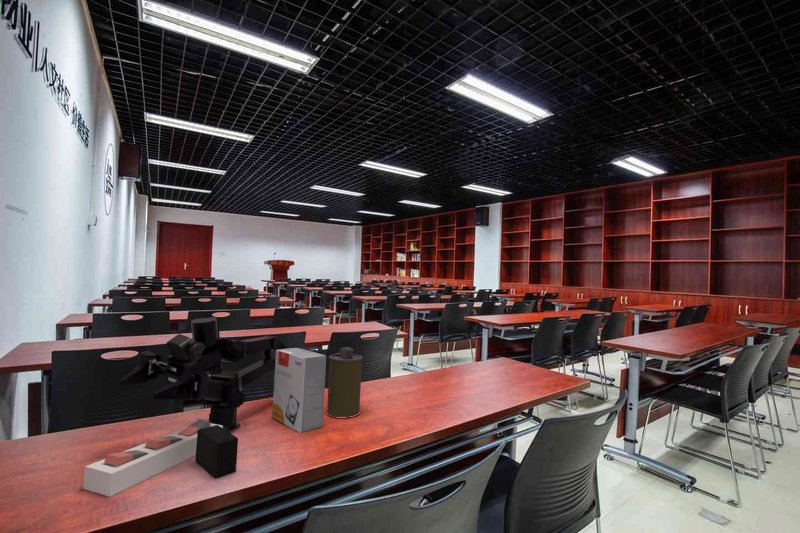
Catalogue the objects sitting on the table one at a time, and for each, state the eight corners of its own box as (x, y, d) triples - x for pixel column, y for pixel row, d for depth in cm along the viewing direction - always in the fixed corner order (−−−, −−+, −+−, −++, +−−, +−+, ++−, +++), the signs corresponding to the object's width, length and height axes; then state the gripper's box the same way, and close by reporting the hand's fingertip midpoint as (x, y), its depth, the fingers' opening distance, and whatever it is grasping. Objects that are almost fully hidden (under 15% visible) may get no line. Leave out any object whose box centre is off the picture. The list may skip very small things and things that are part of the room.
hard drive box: (270, 418, 109) (274, 349, 110) (294, 412, 114) (297, 347, 116) (300, 433, 98) (304, 357, 99) (324, 426, 104) (327, 354, 105)
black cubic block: (242, 470, 78) (244, 436, 78) (215, 479, 74) (217, 443, 74) (220, 454, 85) (222, 423, 85) (195, 462, 81) (197, 429, 81)
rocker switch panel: (209, 433, 96) (210, 417, 96) (231, 437, 94) (232, 421, 94) (83, 488, 69) (85, 466, 69) (109, 496, 66) (111, 473, 67)
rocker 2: (169, 442, 83) (171, 436, 84) (180, 445, 82) (182, 438, 83) (145, 446, 78) (147, 438, 78) (156, 448, 77) (158, 441, 77)
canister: (366, 414, 115) (369, 349, 116) (337, 421, 108) (340, 351, 110) (348, 405, 123) (350, 344, 125) (319, 411, 117) (322, 346, 118)
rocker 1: (134, 457, 76) (136, 450, 76) (145, 460, 75) (147, 452, 75) (104, 462, 70) (106, 454, 71) (116, 465, 69) (118, 457, 70)
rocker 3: (200, 424, 91) (199, 418, 91) (210, 426, 90) (209, 420, 90) (178, 439, 85) (177, 433, 85) (189, 441, 84) (188, 435, 84)
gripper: (170, 322, 93) (104, 341, 78) (231, 342, 88) (173, 366, 73) (167, 364, 94) (102, 390, 80) (227, 386, 89) (169, 418, 75)
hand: (135, 390), depth 77 cm, fingers open, 9 cm apart
